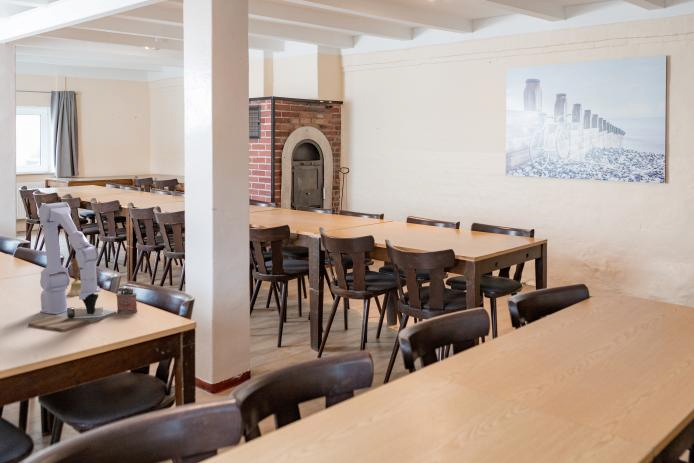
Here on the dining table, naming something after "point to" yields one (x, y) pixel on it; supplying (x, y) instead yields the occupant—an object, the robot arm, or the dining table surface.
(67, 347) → the dining table surface
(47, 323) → the plate
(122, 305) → the red tin can
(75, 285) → the hand bell
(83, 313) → the lock bar
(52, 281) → the robot arm
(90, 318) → the door plate
